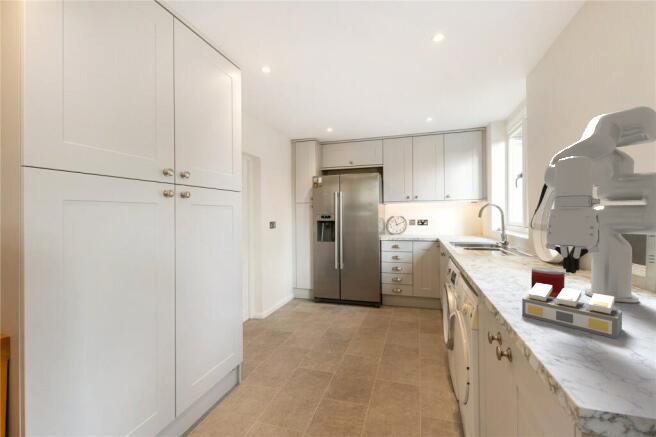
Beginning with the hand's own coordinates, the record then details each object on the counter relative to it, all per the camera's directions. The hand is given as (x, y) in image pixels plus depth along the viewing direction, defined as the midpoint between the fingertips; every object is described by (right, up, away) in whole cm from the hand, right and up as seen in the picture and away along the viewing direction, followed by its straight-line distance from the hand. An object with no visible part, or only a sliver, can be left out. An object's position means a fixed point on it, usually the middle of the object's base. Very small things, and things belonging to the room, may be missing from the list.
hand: (571, 272), depth 71 cm
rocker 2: (-2, -6, -1) cm, 7 cm away
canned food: (+4, -13, +13) cm, 18 cm away
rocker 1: (-5, -6, +3) cm, 9 cm away
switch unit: (-2, -13, -1) cm, 13 cm away
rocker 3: (+2, -6, -6) cm, 9 cm away
